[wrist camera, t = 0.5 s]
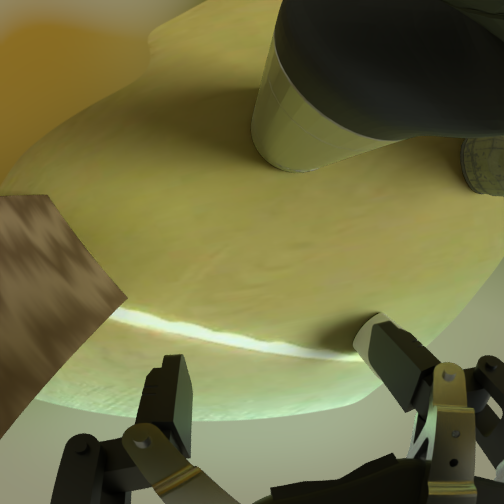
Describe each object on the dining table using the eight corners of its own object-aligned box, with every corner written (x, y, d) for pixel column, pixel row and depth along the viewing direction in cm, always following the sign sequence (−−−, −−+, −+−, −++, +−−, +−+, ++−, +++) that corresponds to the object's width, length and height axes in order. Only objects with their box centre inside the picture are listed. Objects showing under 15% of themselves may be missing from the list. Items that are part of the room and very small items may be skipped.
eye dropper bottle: (391, 335, 32) (443, 384, 20) (353, 354, 32) (397, 412, 20) (386, 307, 31) (444, 352, 20) (347, 326, 31) (394, 382, 20)
